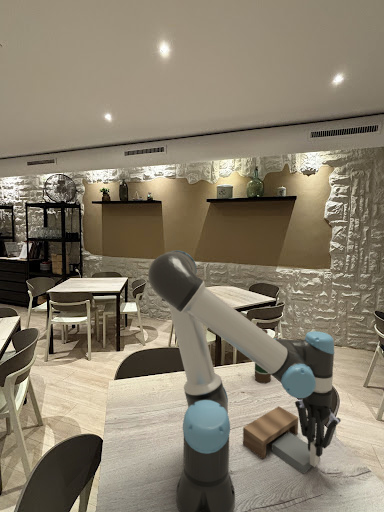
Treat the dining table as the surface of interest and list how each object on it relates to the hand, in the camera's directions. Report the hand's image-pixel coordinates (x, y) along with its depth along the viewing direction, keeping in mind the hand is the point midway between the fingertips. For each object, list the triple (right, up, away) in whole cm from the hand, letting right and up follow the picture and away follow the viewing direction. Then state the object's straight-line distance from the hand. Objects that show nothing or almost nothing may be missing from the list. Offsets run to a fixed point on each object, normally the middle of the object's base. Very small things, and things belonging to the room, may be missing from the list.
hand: (314, 463), depth 85 cm
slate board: (-4, -2, +5) cm, 6 cm away
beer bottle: (-3, +3, +52) cm, 52 cm away
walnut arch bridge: (-9, 0, +12) cm, 15 cm away
